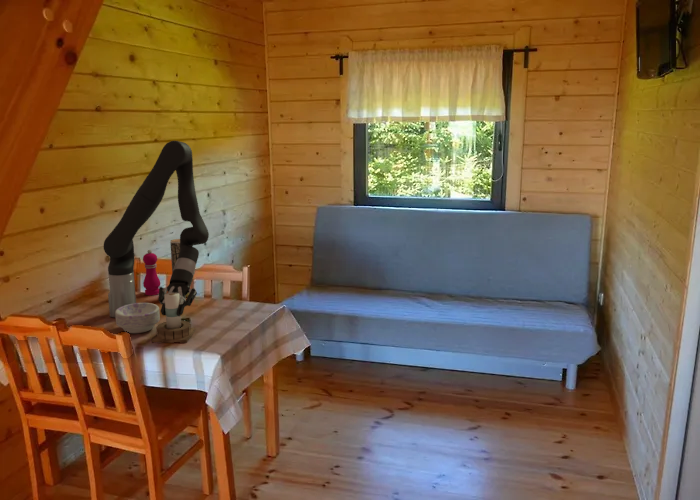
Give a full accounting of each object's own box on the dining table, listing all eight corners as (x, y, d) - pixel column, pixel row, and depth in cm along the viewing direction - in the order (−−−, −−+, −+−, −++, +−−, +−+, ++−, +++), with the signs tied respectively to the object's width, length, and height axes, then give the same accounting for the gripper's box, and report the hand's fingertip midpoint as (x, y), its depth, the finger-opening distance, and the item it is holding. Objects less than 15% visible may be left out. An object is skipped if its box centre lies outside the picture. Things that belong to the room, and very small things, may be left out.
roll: (164, 329, 203) (162, 296, 201) (168, 324, 208) (166, 292, 206) (179, 329, 203) (177, 296, 201) (183, 324, 208) (181, 292, 206)
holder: (152, 342, 201) (151, 331, 200) (162, 330, 212) (161, 320, 211) (186, 342, 201) (186, 331, 200) (195, 330, 213) (194, 320, 212)
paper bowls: (136, 339, 203) (135, 318, 202) (107, 331, 211) (105, 311, 209) (169, 326, 216) (168, 306, 215) (140, 319, 224) (139, 300, 222)
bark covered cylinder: (185, 299, 250) (182, 242, 244) (170, 297, 251) (167, 241, 246) (192, 294, 256) (189, 239, 251) (178, 293, 258) (175, 238, 252)
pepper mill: (140, 294, 255) (137, 250, 251) (151, 290, 262) (148, 247, 258) (153, 296, 253) (150, 252, 248) (164, 292, 259) (161, 248, 255)
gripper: (161, 267, 210) (147, 309, 201) (198, 268, 208) (186, 311, 199) (168, 277, 216) (155, 318, 207) (205, 278, 214) (193, 320, 205)
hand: (170, 314), depth 203 cm, fingers closed on roll, 5 cm apart
